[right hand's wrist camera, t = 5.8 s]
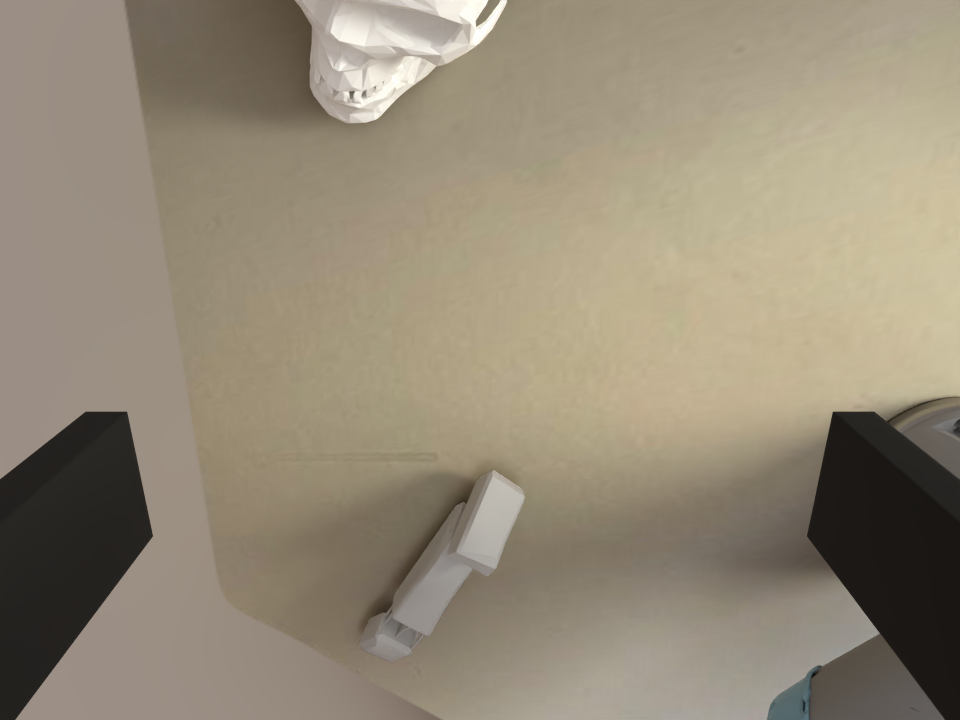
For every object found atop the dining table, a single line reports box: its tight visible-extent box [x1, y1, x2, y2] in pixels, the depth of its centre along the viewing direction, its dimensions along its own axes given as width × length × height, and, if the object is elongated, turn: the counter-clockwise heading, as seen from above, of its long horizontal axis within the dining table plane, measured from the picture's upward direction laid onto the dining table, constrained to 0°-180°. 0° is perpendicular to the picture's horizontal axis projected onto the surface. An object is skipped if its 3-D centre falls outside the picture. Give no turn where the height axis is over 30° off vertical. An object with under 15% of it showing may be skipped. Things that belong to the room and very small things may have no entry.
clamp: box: [359, 470, 525, 662], centre depth 53 cm, size 20×4×7 cm, turn 147°
